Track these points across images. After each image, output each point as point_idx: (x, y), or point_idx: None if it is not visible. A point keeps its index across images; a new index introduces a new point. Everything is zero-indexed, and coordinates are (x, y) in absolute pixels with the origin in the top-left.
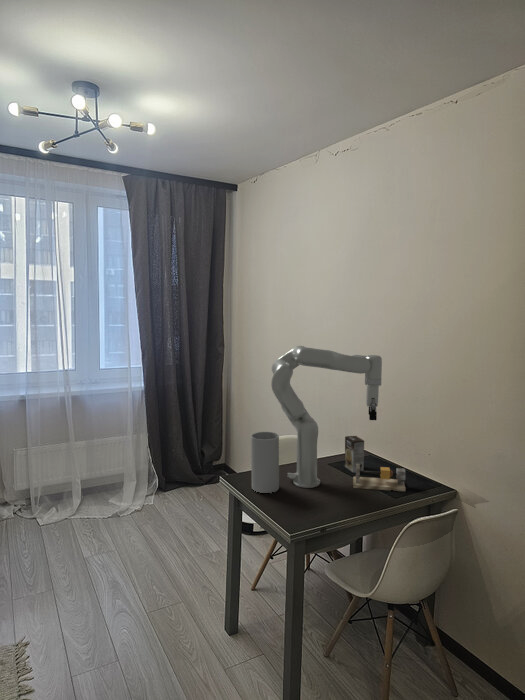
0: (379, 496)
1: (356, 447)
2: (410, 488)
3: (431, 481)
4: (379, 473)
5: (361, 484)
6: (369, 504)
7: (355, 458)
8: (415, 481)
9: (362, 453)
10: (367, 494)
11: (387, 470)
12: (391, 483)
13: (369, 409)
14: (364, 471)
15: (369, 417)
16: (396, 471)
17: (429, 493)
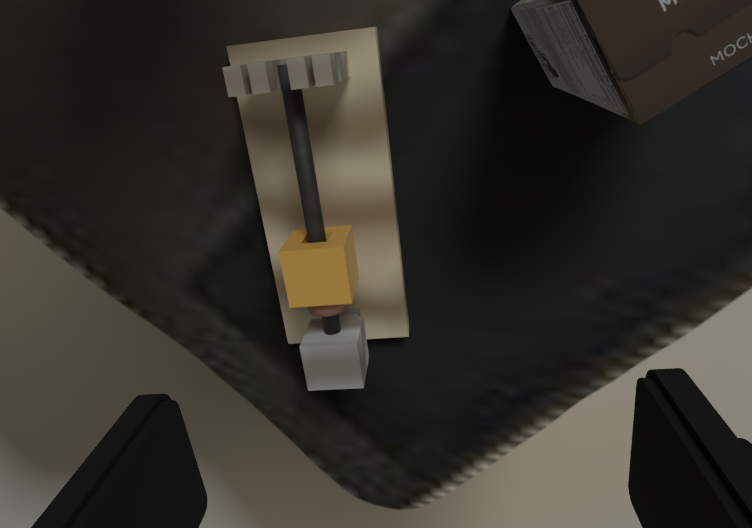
0: (176, 210)
1: (570, 30)
2: None
3: (465, 451)
4: (306, 229)
5: (250, 101)
6: (53, 163)
7: (540, 24)
8: (446, 385)
9: (585, 90)
10: (173, 143)
11: (287, 291)
12: None
13: (705, 492)
14: (289, 126)
15: (115, 427)
16: (346, 335)
17: (308, 429)
